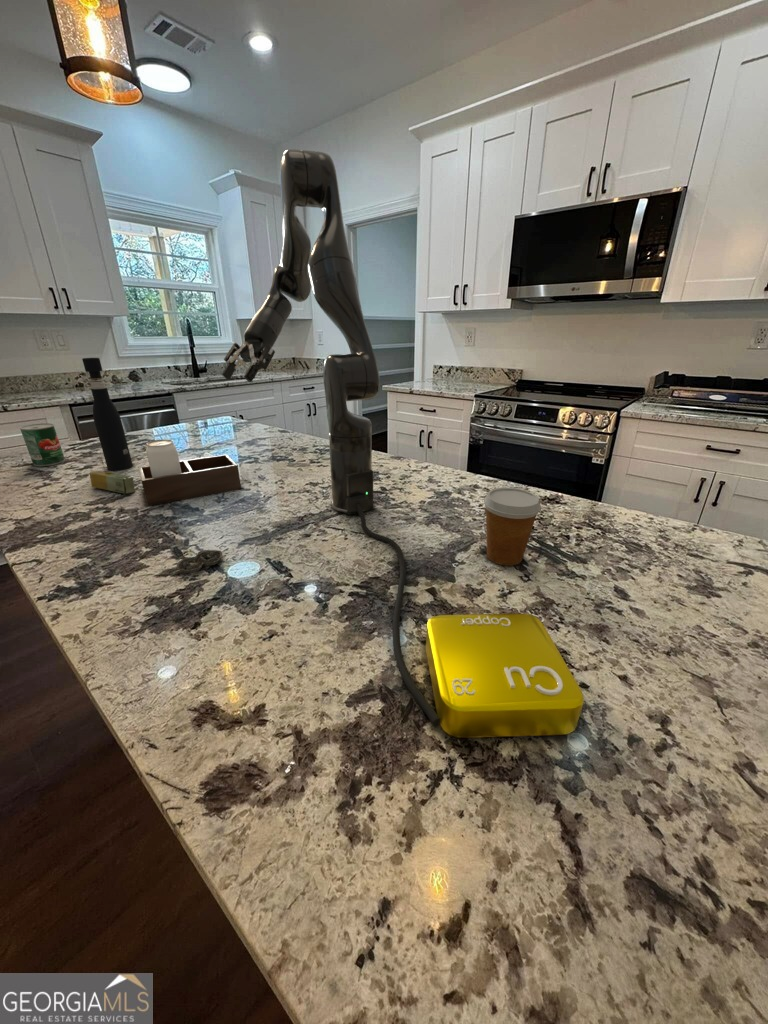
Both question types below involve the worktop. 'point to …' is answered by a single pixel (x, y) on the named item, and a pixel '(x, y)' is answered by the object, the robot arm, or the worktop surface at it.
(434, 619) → the element tile
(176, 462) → the can
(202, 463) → the caddy
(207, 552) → the corroded twin loop
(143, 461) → the worktop surface
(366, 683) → the worktop surface
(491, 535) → the disposable coffee cup
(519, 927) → the worktop surface
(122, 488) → the medication box
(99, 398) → the black water bottle
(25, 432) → the canned tomato
